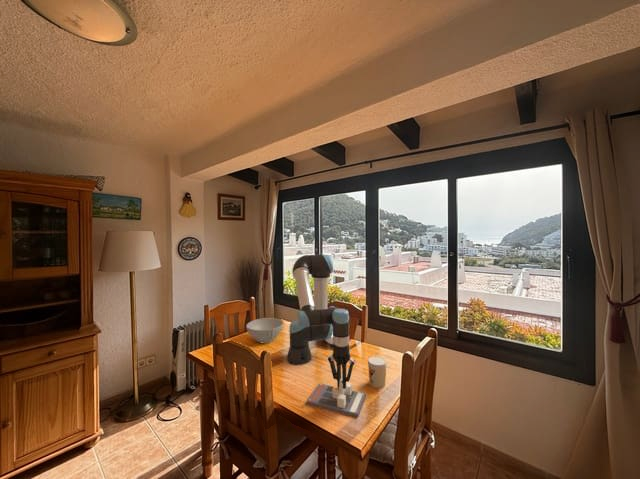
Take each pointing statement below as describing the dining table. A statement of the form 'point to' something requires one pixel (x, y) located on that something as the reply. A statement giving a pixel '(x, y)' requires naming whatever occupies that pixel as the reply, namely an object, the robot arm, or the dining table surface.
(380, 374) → the coffee cup
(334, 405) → the breaker panel
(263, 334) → the decorative bowl
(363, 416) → the dining table surface
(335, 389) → the breaker toggle
